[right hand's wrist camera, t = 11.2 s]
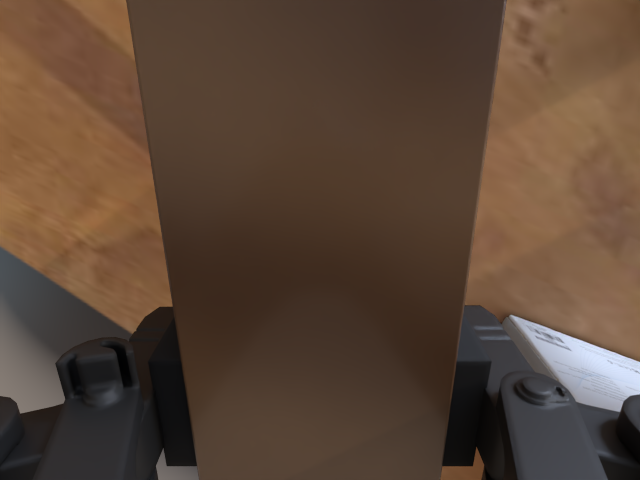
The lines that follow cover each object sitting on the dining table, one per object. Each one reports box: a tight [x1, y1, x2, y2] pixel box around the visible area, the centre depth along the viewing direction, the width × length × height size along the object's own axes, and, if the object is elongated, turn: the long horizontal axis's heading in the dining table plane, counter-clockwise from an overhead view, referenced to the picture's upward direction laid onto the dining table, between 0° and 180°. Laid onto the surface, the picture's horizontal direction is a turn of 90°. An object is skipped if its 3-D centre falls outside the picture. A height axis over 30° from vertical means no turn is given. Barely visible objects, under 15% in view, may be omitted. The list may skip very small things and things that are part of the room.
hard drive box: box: [501, 315, 640, 412], centre depth 33 cm, size 16×8×20 cm, turn 69°
